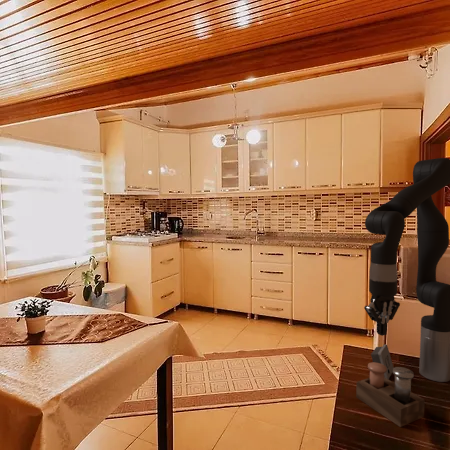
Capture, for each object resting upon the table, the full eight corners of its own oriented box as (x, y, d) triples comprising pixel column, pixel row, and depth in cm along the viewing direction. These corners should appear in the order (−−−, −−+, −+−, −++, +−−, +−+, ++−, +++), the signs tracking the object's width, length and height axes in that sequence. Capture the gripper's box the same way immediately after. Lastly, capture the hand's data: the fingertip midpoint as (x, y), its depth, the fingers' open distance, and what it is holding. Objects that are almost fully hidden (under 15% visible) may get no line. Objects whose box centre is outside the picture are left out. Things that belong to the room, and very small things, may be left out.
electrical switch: (388, 381, 110) (386, 354, 110) (372, 377, 113) (370, 351, 113) (394, 370, 117) (392, 344, 117) (378, 367, 121) (376, 342, 121)
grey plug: (399, 390, 96) (400, 365, 95) (416, 399, 91) (417, 373, 90) (387, 394, 93) (388, 369, 93) (404, 404, 89) (405, 378, 88)
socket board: (378, 389, 105) (379, 374, 105) (424, 416, 92) (424, 399, 91) (356, 397, 101) (356, 381, 101) (400, 427, 87) (400, 409, 87)
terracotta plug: (375, 384, 103) (375, 361, 103) (389, 392, 99) (390, 368, 98) (363, 388, 101) (364, 364, 101) (377, 397, 96) (378, 372, 96)
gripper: (387, 273, 103) (386, 326, 104) (356, 277, 97) (355, 333, 98) (409, 278, 96) (407, 335, 97) (378, 283, 90) (376, 343, 91)
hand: (381, 334), depth 98 cm, fingers closed
